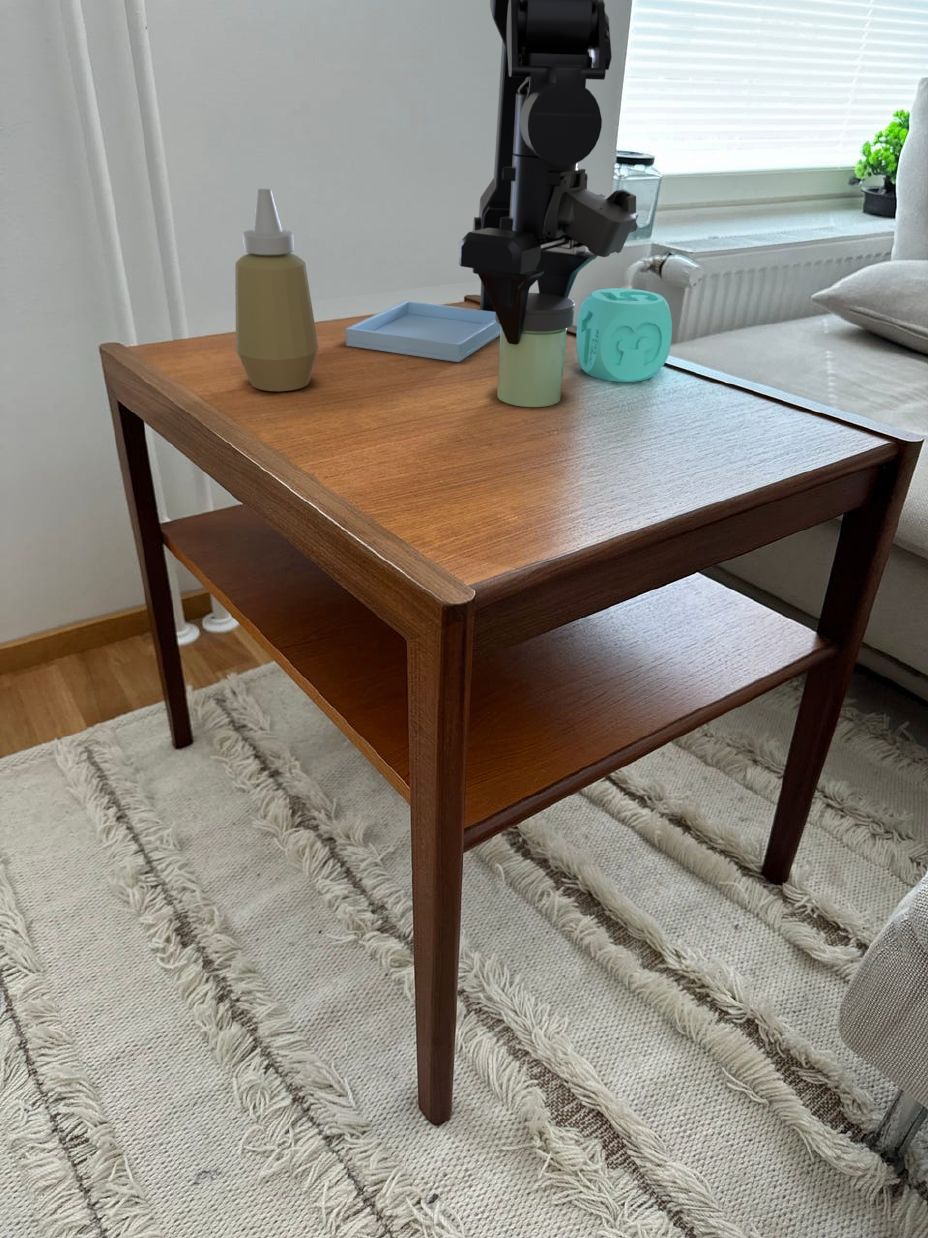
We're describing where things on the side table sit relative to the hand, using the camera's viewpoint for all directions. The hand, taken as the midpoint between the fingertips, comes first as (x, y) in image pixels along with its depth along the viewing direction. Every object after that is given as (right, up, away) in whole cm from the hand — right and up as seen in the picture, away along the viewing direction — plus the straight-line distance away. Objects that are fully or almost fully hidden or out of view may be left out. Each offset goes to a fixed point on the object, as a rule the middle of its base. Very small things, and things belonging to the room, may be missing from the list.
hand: (532, 335), depth 87 cm
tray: (-11, +7, +21) cm, 25 cm away
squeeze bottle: (-25, -4, +4) cm, 26 cm away
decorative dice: (+10, 0, +12) cm, 16 cm away
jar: (0, -5, +3) cm, 6 cm away
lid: (0, +2, -1) cm, 3 cm away
